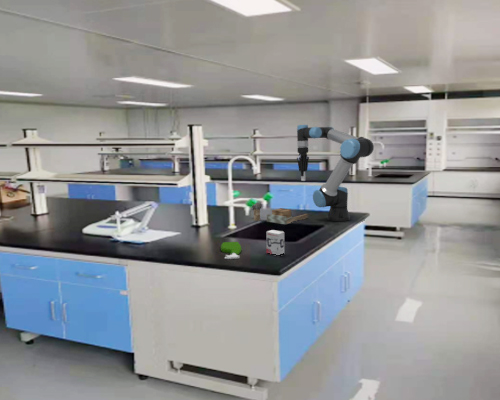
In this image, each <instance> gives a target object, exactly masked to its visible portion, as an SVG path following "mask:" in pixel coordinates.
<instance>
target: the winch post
mask: <svg viewBox="0 0 500 400" xmlns="http://www.w3.org/2000/svg"><path fill="white" fill-rule="evenodd" d="M251 208H252V211H253V221H256V222H259V221H260V220H261V218H260V217H261V209H262V203H261V202H256V204H255V205H253V206H252V205H251Z"/></svg>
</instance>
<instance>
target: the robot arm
mask: <svg viewBox="0 0 500 400" xmlns="http://www.w3.org/2000/svg"><path fill="white" fill-rule="evenodd" d="M296 129H297V130H296V132H297V133H296V135H297V141H296V142H297V153H298V157H296V161H297V166H298V171H299V172H300V178H301V179H300V181H303V182H305V181H306V177H307V176H306V172H307V171H308V167H309V160H310V157H309V156H308V153H309V139H327V140H329V141H332V142H335V143H338V144H339V145H340V144H341V145H340V148H339V149H340V150H339V152H340V155H339V156H340V158H339V160H338V162H337V163H336V165H335V167H334V169H333V170H332V172H331V173H330V175H329V177H328V178H327V180H326V182H325V183H323V184H322V185H321V186H320V188H319V189H316V190H315V191H313V194H312V199H313V200H312V201H313V203H314V205H315V206H316V207H318V208H325V207H329V211H328V213H327V220H328V221H331V222H347V221H350V219H351V218H350V217H351V216H350V212H349V209H348V199H349V197H348V195H349V192H348V191H349V190H348V188H347V187H345V186H341V184H342V183H343V181H344V179H345V178H346V176H347V174H348V173H349V171H350V169H351V168H352V166H353V165H355V164H357V163H358V162H359V160H360V159H361V158H367V157H369V156H371V154H372V153H374V149H375V146H374V142H373V141H372V140H371V139H369V138H366V137H362V136H359V137H357V136H354V135H351V134H348V133H345V132H342V131H339V130H336V129H335V128H334V127H333V126H332V127H331V126H313V127H311V126H310V127H309V125H308V124H298V125H297V128H296Z"/></svg>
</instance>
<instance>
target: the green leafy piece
mask: <svg viewBox="0 0 500 400" xmlns="http://www.w3.org/2000/svg"><path fill="white" fill-rule="evenodd" d="M220 250H221V253H224V254H225V255H224V256H225V257H224V260H233V259H234V260H236V259H240V254H241V252H242V246H241V244H240V243H239V242H238V241H227V242H225V241H224V242H222V243H221V245H220ZM228 254H229V255H228Z"/></svg>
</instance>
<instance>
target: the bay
mask: <svg viewBox="0 0 500 400" xmlns="http://www.w3.org/2000/svg"><path fill="white" fill-rule="evenodd" d="M306 218H307V219H308V218H309V213H305V214H301V215H297V216H291V217H289V218H287V217H285V216H279V215H272V213H267V214H266V222H268V223H275V224H280V225H288V224H292V223H294V222H293V221H296V222H298V221H297V220H300V221H303V220H306ZM302 219H303V220H302ZM291 222H292V223H291Z"/></svg>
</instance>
